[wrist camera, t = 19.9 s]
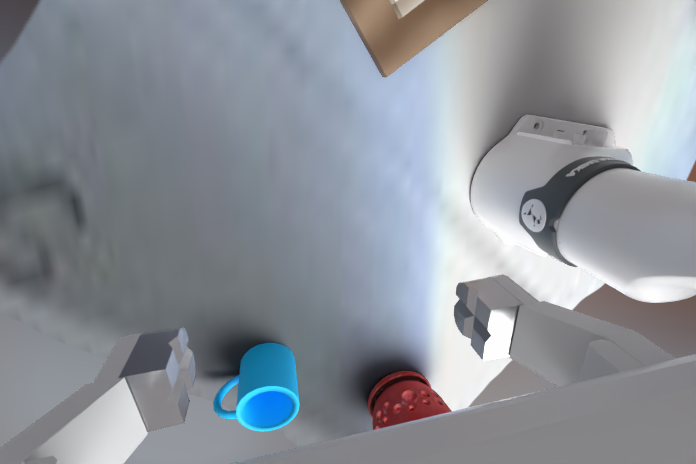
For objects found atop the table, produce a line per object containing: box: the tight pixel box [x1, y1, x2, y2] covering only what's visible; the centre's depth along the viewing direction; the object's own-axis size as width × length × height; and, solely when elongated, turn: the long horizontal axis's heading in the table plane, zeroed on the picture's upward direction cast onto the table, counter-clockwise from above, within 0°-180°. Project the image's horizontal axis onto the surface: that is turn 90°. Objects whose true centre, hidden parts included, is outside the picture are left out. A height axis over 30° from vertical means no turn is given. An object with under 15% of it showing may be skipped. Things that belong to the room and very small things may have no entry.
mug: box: [213, 343, 299, 431], centre depth 48 cm, size 12×8×8 cm
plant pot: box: [368, 371, 452, 430], centre depth 55 cm, size 13×13×12 cm
